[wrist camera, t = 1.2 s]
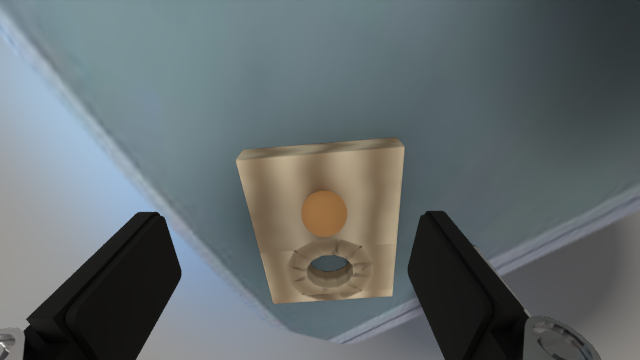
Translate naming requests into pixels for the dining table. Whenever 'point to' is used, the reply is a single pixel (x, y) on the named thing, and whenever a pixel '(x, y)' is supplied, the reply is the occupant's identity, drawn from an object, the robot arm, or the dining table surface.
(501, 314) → the robot arm
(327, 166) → the block
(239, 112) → the dining table surface
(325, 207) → the ball
